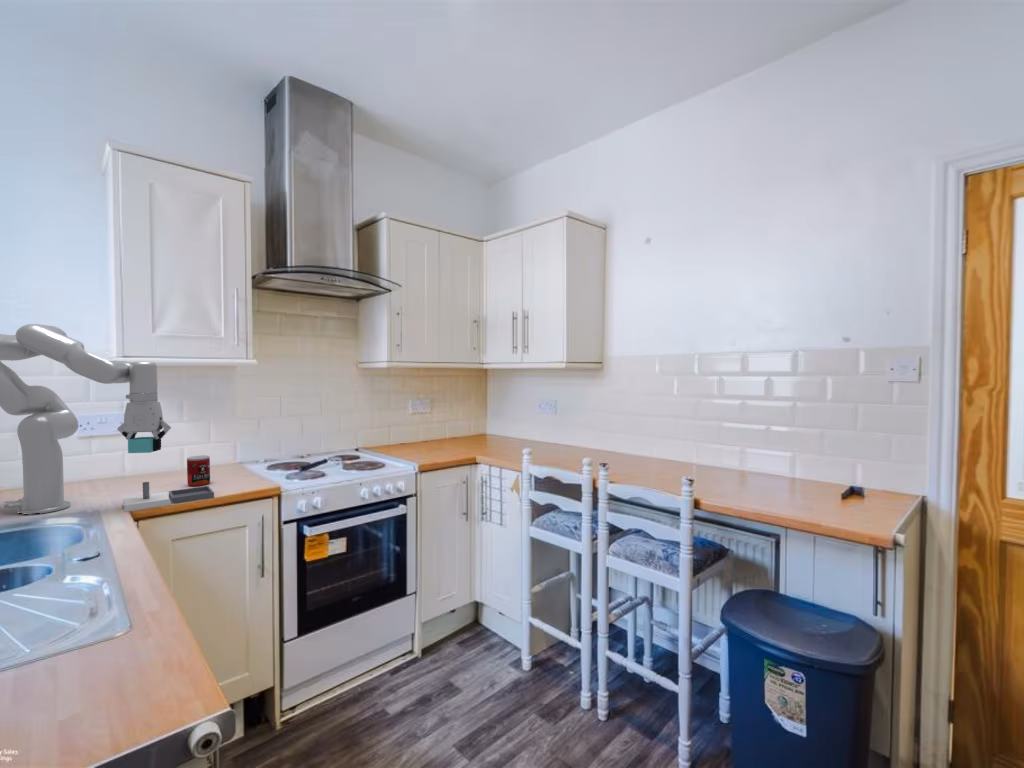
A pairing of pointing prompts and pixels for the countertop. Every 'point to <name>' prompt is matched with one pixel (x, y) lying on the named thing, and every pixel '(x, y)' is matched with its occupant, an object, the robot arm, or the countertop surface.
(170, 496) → the tray
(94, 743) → the countertop surface
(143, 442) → the teal notched block
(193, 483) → the canned food
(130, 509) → the stake block
